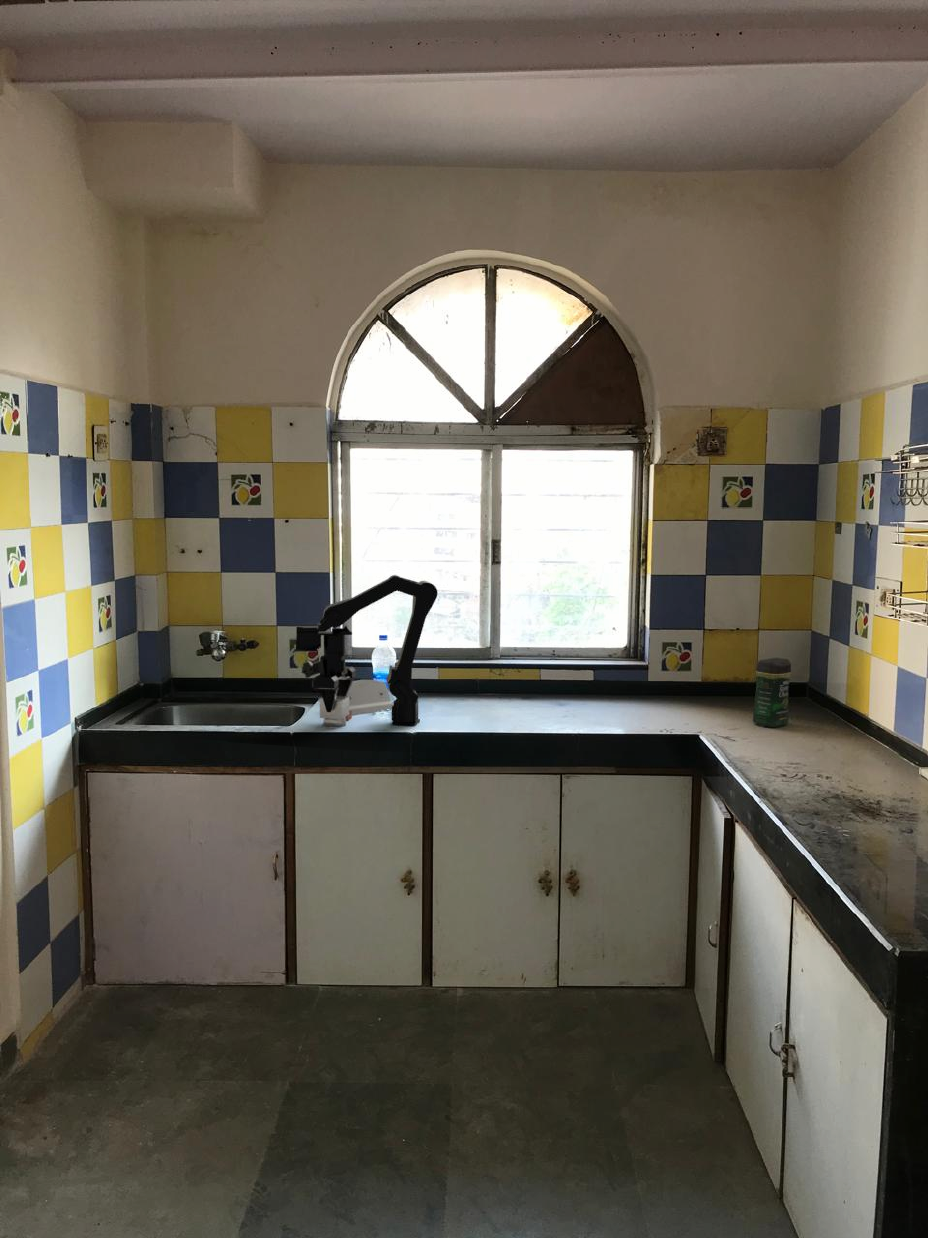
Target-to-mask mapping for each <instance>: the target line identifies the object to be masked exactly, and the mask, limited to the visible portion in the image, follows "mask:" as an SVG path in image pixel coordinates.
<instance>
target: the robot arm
mask: <svg viewBox="0 0 928 1238" xmlns="http://www.w3.org/2000/svg"><path fill="white" fill-rule="evenodd" d="M395 592H400V593H403V594H406V595H409V596H411V597H412V609H411V615H410V619H409V623H408V625H407V629H406V632H405V636H404V638H403V639H404V640H403V643H402V646H401V649H400V652H399V657H398V660H397V662H396V664H395V665H389V667H388V674H387V676H386V678H385V680H386V686H387V689H388V690H389V692H390V694H391V695H392V696H393V697H395V698H396V699H395V700H393V706H392V710H391V721H392V722H391V725H396V726H412V727H413V726H416V725H417V724H418V723H420V721H421V719H420V718H419V695H418V693H417V692H416V690H415V689H414V688H413V687H412V676H413V673H412V672H413V664H414V660H415V657H416V654H417V653H416V652H417V649H418V646H419V643H420V640H421V637H422V636H421V635H422V633H423V629H424V626H425V622H426V618H427V615H428V614H429V613H430V611H431V610H432V608H433V606H434V604H435V602H436V599H437V597H438V589H437V587H436V585H434V584H433V583H432V582H430V581H428V580H421V581H415V580H412V579H408V578H404V577H401V576H400V575H397V574H393V575H390V576H389V577H388V578H387V579H385V580H383V581H381V582H379V583H377V584H376V585H373V586H372V587H370V588H367V589H365V590H364V591H363V592H360V593H358V594H357V595H355V596H353V597H351V598H347V599H344V600H340V601H337V602H333V603H330V604H328V605H326V607H325V608H324V610H323V613H322V618H321V619H320V621H319V622H317V625H316V626H301V625H299V626H298V625H297V626H296V637H295V653H306V652H307V653H308V652H309V653H310V652H311V653H312V652H314V653H315V652H316V653H317V652H318V650H320V649H321V648H322V636H323V654H322V655H321V656H320V657H319V661H318V660H317V661H315V662H312V661H310V660H309V661H307V662H304V663H303V664H302V667H301V669H302V670H301V673H302V674H303V675H304V676H305V678H306V679H307V678H311V677H312V676H314V675H317V676H314V677H313V679H312V680H311V688H313V689H314V691H316V692H319V693H320V695H321V698H323V701H324V704H325V708H326V711H327V712H331V711H332V708H333V705H334V702H335V698H336V695H337V696H347V693H348V691H349V689H350V687H351V684H352V682H354V681H355V678H356V677H357V674H356V673H357V671H356V668H354V667H353V666H346V659H348V653H346V636H351V635H353V632H352V630H350V628H348V626H347V625H346V624H345V623H346V622H347V621H349V620H350V619H351V618H353V616H355V614H357V613H358V612H359V611H361V610H362V609H363V610H364V609H365V608H367V607H369V606H370V605H372V604H374V603H376V602H378V601H380V600H382V599H383V598H385V597H387V596H389V595H391V594H392V593H395ZM344 624H345V625H344ZM342 625H344V626H342ZM341 626H342V628H341ZM338 627H340V628H338ZM330 629H331V631H328V630H330ZM318 674H319V675H318Z"/></svg>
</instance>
